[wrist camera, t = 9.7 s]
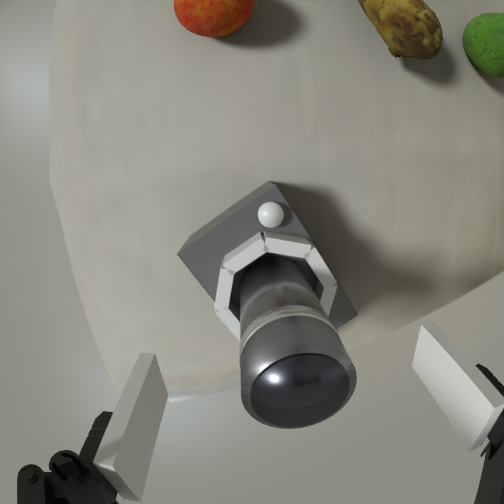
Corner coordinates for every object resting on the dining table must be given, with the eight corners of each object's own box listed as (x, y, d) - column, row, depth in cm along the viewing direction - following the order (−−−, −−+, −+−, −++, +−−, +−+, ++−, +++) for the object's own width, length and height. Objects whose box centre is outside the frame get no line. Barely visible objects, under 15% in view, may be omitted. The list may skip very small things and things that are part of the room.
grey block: (189, 236, 29) (171, 262, 21) (268, 180, 27) (278, 186, 20) (266, 333, 32) (272, 381, 24) (338, 287, 31) (365, 325, 23)
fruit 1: (239, 55, 24) (237, 18, 16) (171, 40, 23) (148, 4, 15) (262, 1, 22) (268, -42, 14) (197, -12, 21) (185, -55, 14)
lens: (242, 320, 24) (246, 437, 13) (236, 258, 23) (233, 354, 11) (306, 313, 25) (351, 422, 13) (305, 252, 23) (365, 337, 11)
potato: (403, -13, 21) (435, -42, 13) (417, 77, 24) (461, 60, 17) (337, -31, 21) (358, -69, 13) (346, 61, 24) (378, 33, 16)
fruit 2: (497, 89, 24) (563, 80, 13) (456, 75, 24) (527, 56, 13) (485, 36, 22) (544, 16, 10) (443, 18, 22) (503, -14, 10)
